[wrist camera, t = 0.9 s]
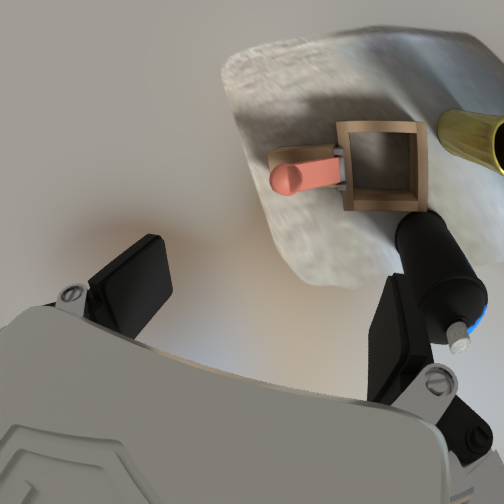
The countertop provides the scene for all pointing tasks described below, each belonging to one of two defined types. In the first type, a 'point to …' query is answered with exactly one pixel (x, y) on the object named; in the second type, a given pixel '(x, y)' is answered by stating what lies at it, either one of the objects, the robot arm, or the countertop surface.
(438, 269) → the aerosol can
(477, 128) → the vase
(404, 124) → the block
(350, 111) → the countertop surface
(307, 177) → the keeper bar
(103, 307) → the robot arm
